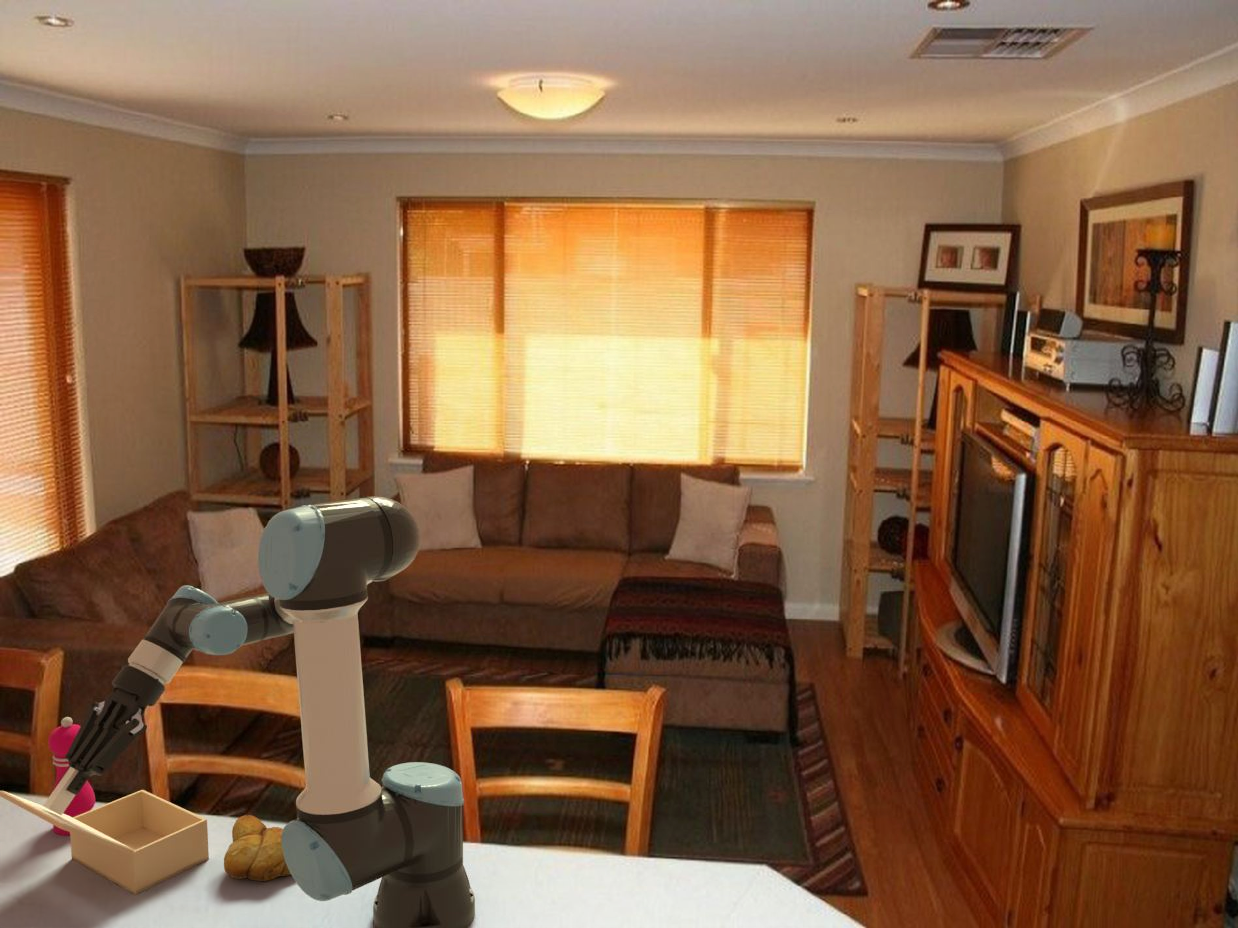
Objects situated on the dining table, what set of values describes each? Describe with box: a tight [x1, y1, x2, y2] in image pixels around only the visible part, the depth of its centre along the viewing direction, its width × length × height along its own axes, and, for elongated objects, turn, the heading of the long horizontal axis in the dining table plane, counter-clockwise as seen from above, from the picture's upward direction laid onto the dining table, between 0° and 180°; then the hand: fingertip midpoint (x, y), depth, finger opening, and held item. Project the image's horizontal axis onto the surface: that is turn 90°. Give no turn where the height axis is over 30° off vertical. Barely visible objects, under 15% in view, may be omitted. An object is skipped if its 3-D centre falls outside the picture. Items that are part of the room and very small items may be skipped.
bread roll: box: [223, 814, 291, 882], centre depth 174 cm, size 13×10×8 cm
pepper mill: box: [47, 716, 96, 836], centre depth 186 cm, size 7×7×20 cm
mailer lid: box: [0, 790, 134, 854], centre depth 166 cm, size 19×14×1 cm
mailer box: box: [69, 789, 210, 895], centre depth 177 cm, size 18×13×7 cm
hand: (52, 810), depth 165 cm, fingers closed
